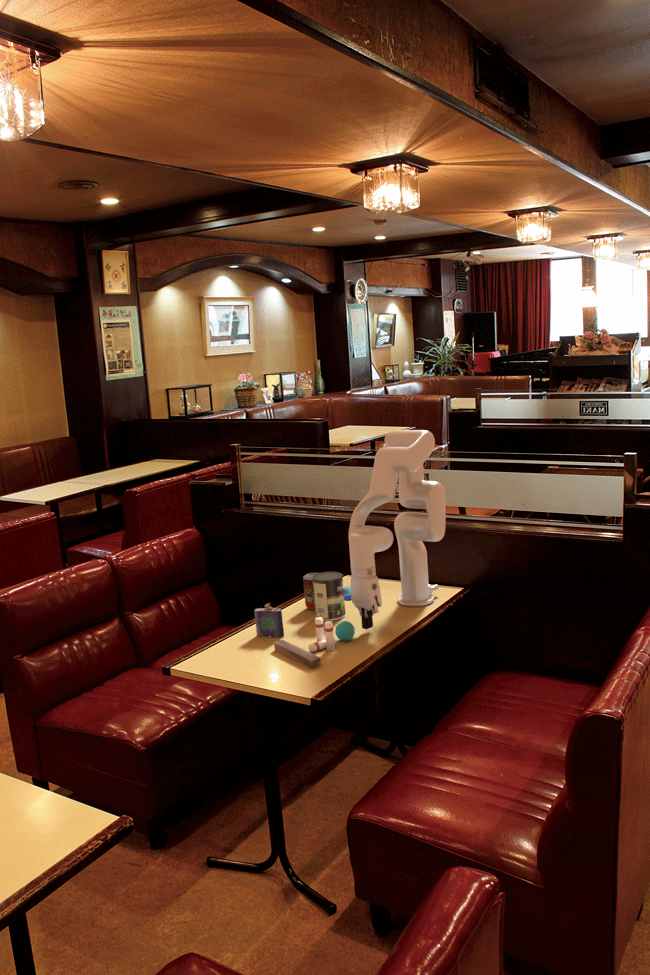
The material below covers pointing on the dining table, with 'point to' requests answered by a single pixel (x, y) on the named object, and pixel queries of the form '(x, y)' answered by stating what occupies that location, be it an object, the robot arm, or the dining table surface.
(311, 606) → the soda can
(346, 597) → the smartphone
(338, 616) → the coffee can
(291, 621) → the dining table surface
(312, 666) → the back wall
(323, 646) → the front pin
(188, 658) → the dining table surface
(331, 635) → the back pin left
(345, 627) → the ball
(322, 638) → the back pin right
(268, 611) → the flask
